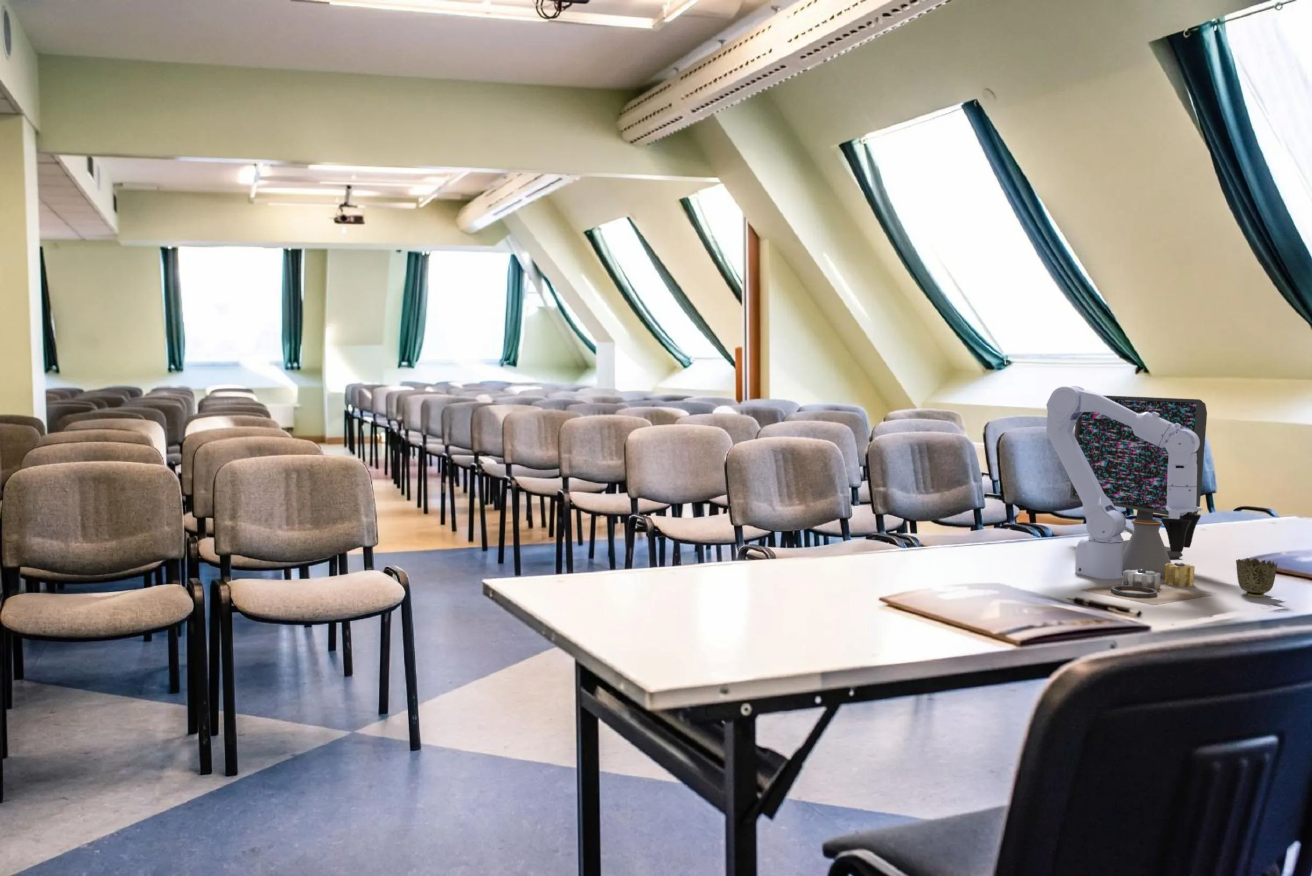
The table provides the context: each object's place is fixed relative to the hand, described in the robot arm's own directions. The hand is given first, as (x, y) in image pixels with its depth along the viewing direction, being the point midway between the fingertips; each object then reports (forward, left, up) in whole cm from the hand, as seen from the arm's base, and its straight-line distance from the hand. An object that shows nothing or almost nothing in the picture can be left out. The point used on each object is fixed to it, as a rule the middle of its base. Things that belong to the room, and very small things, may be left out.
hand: (1180, 549), depth 242 cm
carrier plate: (+2, -15, -9) cm, 17 cm away
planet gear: (0, 0, -9) cm, 9 cm away
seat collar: (+2, -18, -8) cm, 20 cm away
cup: (+15, +3, -9) cm, 18 cm away
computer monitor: (-34, +31, -9) cm, 47 cm away
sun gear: (-2, -10, -8) cm, 13 cm away
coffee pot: (-16, +4, -9) cm, 19 cm away
